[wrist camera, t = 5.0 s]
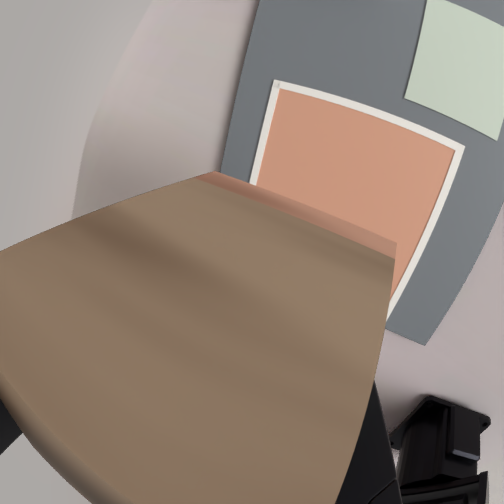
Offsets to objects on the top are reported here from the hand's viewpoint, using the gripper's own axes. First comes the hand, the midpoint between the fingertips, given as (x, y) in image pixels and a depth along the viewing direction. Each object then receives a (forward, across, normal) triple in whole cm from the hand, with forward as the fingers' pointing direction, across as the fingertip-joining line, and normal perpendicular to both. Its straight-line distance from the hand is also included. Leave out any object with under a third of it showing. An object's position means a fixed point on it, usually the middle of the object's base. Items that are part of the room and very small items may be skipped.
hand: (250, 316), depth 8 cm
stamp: (+2, 0, 0) cm, 2 cm away
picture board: (+11, 0, -6) cm, 12 cm away
